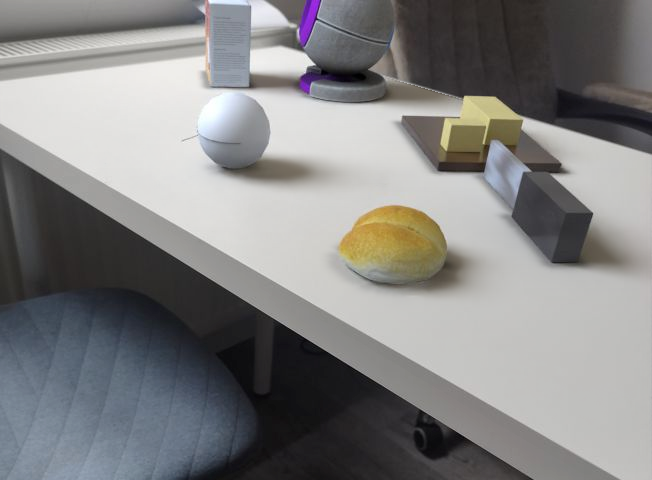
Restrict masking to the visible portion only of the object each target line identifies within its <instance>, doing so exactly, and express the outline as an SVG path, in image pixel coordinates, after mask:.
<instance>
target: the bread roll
mask: <svg viewBox="0 0 652 480" xmlns="http://www.w3.org/2000/svg"><path fill="white" fill-rule="evenodd" d="M447 250H448V244H447V239H446V237H445V235H444V232H443V231H442V229H441V227H440V224H438V222H436V221H435V220H434V219H433V218H432V217H430V216H429V215H428V214H426V213H425V212H424V211H422V210H419V209H416V208H413V207H409V206H404V205H399V204H393V205H391V204H390V205H384V206H379V207H377V208H374V209H372V210H370V211H368V212H366V213H363V214H362V215H361V216H359V218H358V219H357V220H356V221H355V222H354V224H353V226H352V228H351V230H350V231H348V232H347V233H346V234H344V236H343V238H342V239H341V241H340V242H339V245H338V256H339V258H340V261H342V262H343V263H344V264H346V266H347V267H348V268H350V270H352V271H354V272H355V273H357V274H359V275H360V276H362V277H363V278H366V279H367V280H370V281H373V282H377V283H383V284H389V285H390V284H391V285H400V284H402V285H403V284H411V283H418V282H422V281H427V280H429V279H430V278H432V277H434V276H436V274H437V273H439V271H440V270H441V269H442V268H443V266H444V263H445V262H446V258H447V254H448V251H447Z"/></svg>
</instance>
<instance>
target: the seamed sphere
mask: <svg viewBox="0 0 652 480" xmlns="http://www.w3.org/2000/svg"><path fill="white" fill-rule="evenodd" d="M197 119H198V120H197V126H196V133H197V134H196V135H193V136H191V137H188V138H185V139H182V140H181V141H180V142H181V143H182V142H184V141H187V140H190V139H193V138H195V137H196V138H197V137H198V141H199V145H200V147H201V149H202V150H203V152H204V155H205V156H207V157H208V158H209V159H210V160H211V161H212V162H213V163H215V164H216V165H218V166H221V167H224V168H226V169H231V170H232V169H233V170H235V169H236V170H237V169H242V168H246V167H249V166H251V165H253V164H254V163H256V162H257V161H258V160H259V159H260V158H262V156H263V155H264V153H265V151H266V149H267V148H268V145H269V142H270V137H271V134H272V133H271V126H270V120H269V117H268V116H267V113H266V112H265V109H264V107H263V106H262V105H261V104H260V103H259V102H258V101H257V100H256V99H254V98H253V97H251V96H249V95H247V94H245V93H243V92H237V91H227V92H224V93H221V94H218V95H216V96H214V97H213V98H211V99H210V100H209V101H208V102H207V103H206V104H205V106H204V107H203V108H202V110H201V112H200V114H199V116H198V118H197Z"/></svg>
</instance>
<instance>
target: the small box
mask: <svg viewBox="0 0 652 480" xmlns="http://www.w3.org/2000/svg"><path fill="white" fill-rule="evenodd" d="M204 8H205V9H204V10H205V11H204V15H205V17H204V19H205V21H204V23H205V35H204V36H205V37H204V38H205V72H206V75H207V79H208V83H209V87H212V88H216V87H217V88H218V87H219V88H220V87H221V88H222V87H223V88H249V87H250V73H251V72H250V71H251V69H250V68H251V64H250V63H251V35H252V33H251V31H252V5H251V4H250V2H249V1H248V0H204Z"/></svg>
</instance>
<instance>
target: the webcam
mask: <svg viewBox="0 0 652 480" xmlns="http://www.w3.org/2000/svg"><path fill="white" fill-rule="evenodd" d="M300 19H301V20H300V23H299V28H298V37H299V42H300V45H301V47H302V49H303V50H304V52H305V54H306V56H307V57H308V58H309V60H310V61H311V62H312V63H313V64H314V65H308V66H307V67H306V69H305V73H304V74H302V75H301V76H300V77H299V88H300V89H301V90H302V91H303V92H305V93H307V94H308V95H309V97H311V98H316V99H320V100H325V101H326V100H327V101H334V102H342V103H343V102H344V103H345V102H348V103H354V102H355V103H359V102H369V101H374V100H378V99H380V98H382V97H383V96H385V94H386V89H387V81H386V79H385V77H384V76H383V75H382V74H380V73H378V72H376V71H373V70H371V68H372V67H374V66H375V65H376V64H377V63H378V62H380V61H381V59H382V58H383V57H384V55H385V54H386V52H387V51H388V49H389V47H390V45H391V44H392V40H393V37H394V34H395V33H394V32H395V26H396V25H395V24H396V23H395V22H396V17H395V11H394V5H393V3H392V0H306V1H305V4H304V8H303V11H302V15H301V18H300Z"/></svg>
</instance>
